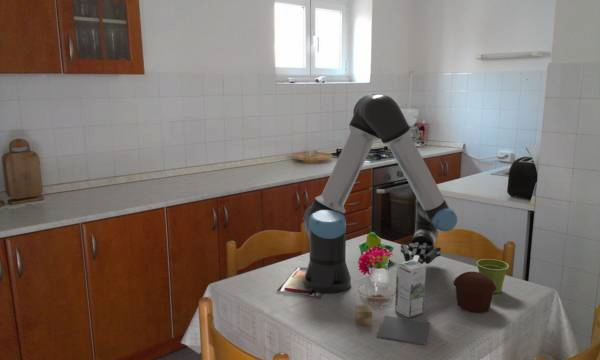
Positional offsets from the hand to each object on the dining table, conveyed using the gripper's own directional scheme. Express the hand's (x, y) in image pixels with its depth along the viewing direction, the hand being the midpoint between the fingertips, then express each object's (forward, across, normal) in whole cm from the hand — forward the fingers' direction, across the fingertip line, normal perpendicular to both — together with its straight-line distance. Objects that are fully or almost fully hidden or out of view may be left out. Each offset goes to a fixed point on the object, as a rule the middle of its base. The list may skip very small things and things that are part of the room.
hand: (414, 266), depth 142 cm
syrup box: (+7, 0, -11) cm, 13 cm away
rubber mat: (+18, 0, -11) cm, 21 cm away
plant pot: (-17, -22, -11) cm, 30 cm away
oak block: (+17, +11, -11) cm, 23 cm away
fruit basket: (-33, +18, -11) cm, 39 cm away
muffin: (-3, -17, -11) cm, 21 cm away
